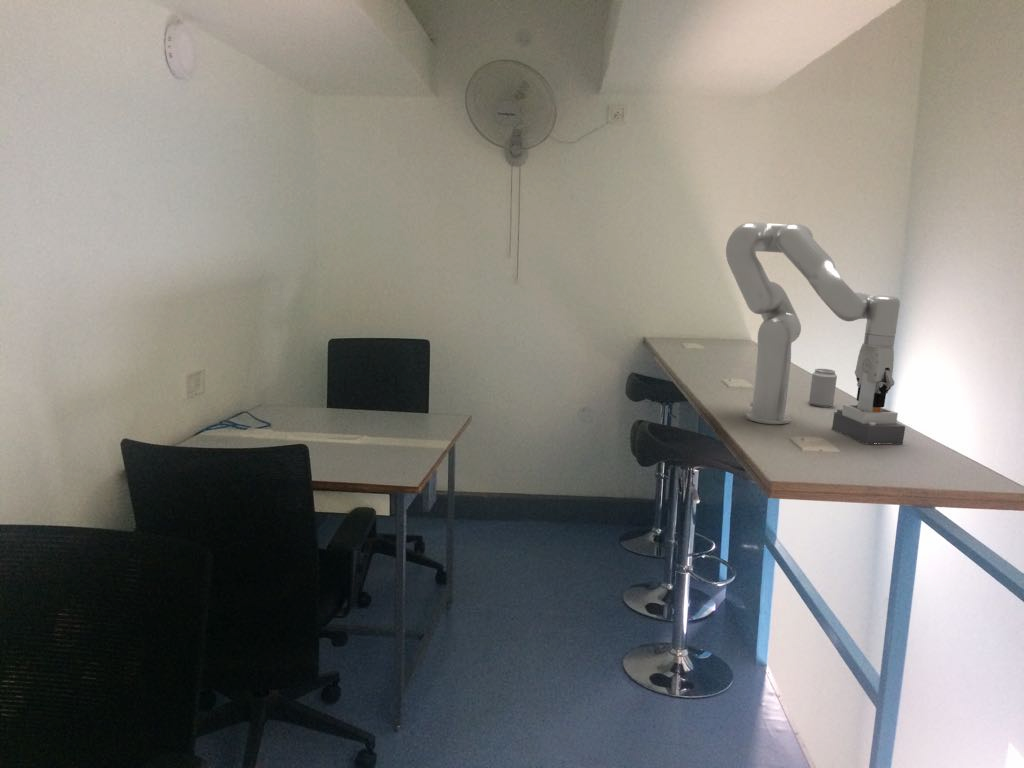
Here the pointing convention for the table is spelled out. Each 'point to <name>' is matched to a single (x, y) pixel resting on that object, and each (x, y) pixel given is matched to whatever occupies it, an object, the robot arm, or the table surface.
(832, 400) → the can
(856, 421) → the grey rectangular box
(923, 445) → the table surface
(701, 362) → the table surface
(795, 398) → the table surface
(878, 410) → the skincare box
